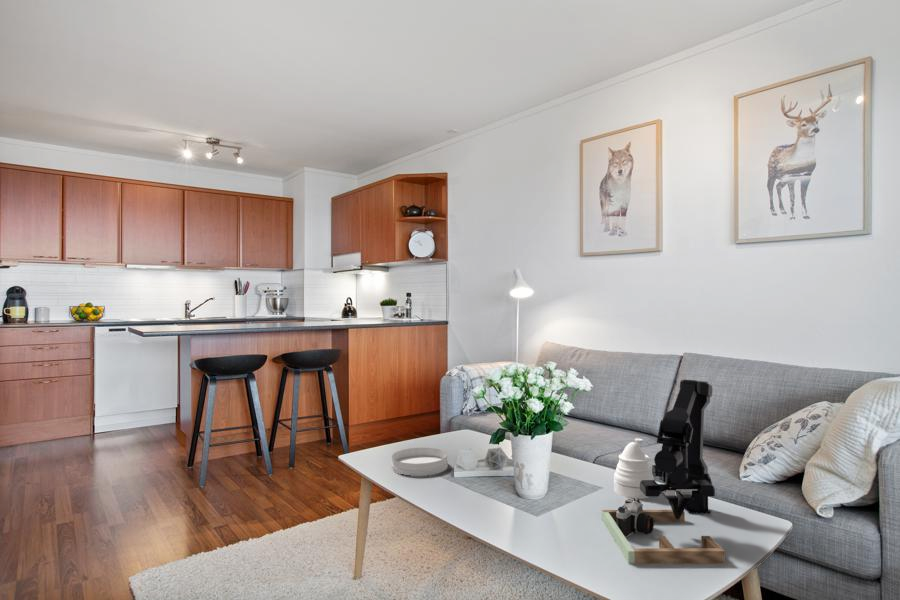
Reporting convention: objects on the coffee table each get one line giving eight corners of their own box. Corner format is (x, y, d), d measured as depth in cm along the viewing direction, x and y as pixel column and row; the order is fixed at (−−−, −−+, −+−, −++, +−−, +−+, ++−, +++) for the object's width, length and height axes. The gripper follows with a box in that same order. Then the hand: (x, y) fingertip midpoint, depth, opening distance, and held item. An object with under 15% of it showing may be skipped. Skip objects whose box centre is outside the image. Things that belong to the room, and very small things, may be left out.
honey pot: (659, 490, 184) (658, 437, 184) (646, 501, 174) (645, 445, 174) (622, 482, 192) (622, 431, 192) (607, 492, 182) (607, 439, 182)
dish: (382, 474, 206) (381, 461, 206) (404, 457, 227) (404, 445, 227) (437, 479, 200) (437, 465, 200) (454, 461, 221) (454, 449, 221)
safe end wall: (607, 520, 160) (607, 510, 160) (634, 563, 134) (634, 551, 134) (602, 520, 160) (602, 510, 160) (628, 563, 134) (628, 551, 134)
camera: (641, 544, 144) (642, 510, 145) (613, 536, 149) (614, 503, 150) (658, 531, 155) (658, 499, 155) (631, 524, 159) (631, 493, 160)
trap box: (682, 519, 160) (682, 509, 160) (724, 563, 134) (724, 551, 134) (602, 520, 160) (602, 510, 160) (628, 563, 134) (628, 551, 134)
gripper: (698, 453, 158) (699, 507, 158) (633, 454, 159) (634, 507, 159) (715, 465, 147) (716, 523, 147) (645, 466, 147) (646, 523, 147)
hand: (677, 518), depth 150 cm, fingers closed
